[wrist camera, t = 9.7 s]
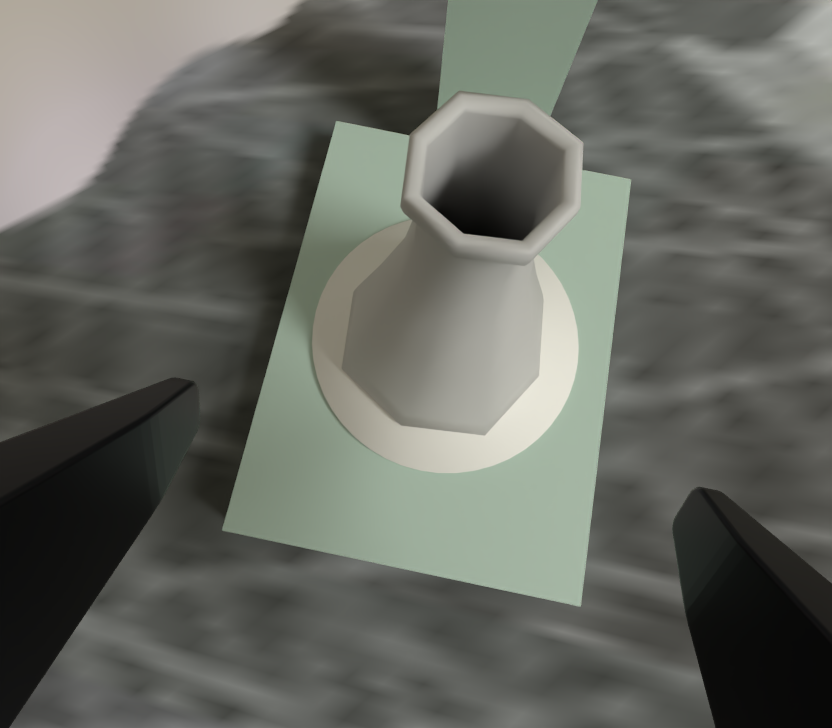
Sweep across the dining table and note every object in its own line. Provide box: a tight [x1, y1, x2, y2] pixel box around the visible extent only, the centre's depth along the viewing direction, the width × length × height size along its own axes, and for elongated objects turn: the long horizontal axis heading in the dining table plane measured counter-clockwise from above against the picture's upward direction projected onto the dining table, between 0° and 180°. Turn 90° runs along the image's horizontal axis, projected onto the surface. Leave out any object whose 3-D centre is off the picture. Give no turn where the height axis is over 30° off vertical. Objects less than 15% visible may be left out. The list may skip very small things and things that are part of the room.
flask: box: [342, 91, 583, 435], centre depth 14 cm, size 7×7×10 cm
